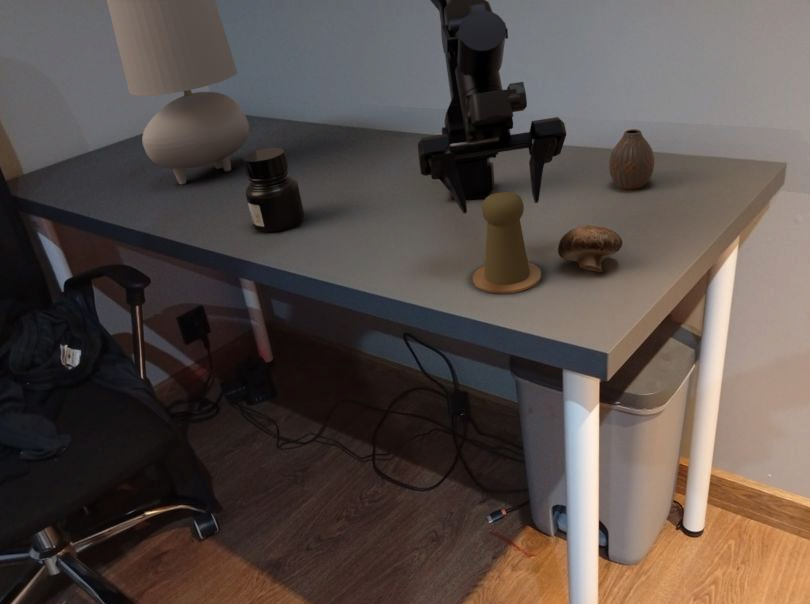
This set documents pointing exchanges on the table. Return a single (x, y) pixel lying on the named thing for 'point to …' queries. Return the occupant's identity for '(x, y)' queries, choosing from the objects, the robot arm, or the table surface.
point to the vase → (631, 161)
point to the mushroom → (589, 246)
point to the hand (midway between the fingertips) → (501, 206)
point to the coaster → (511, 288)
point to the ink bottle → (272, 191)
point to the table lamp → (181, 80)
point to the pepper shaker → (504, 239)
